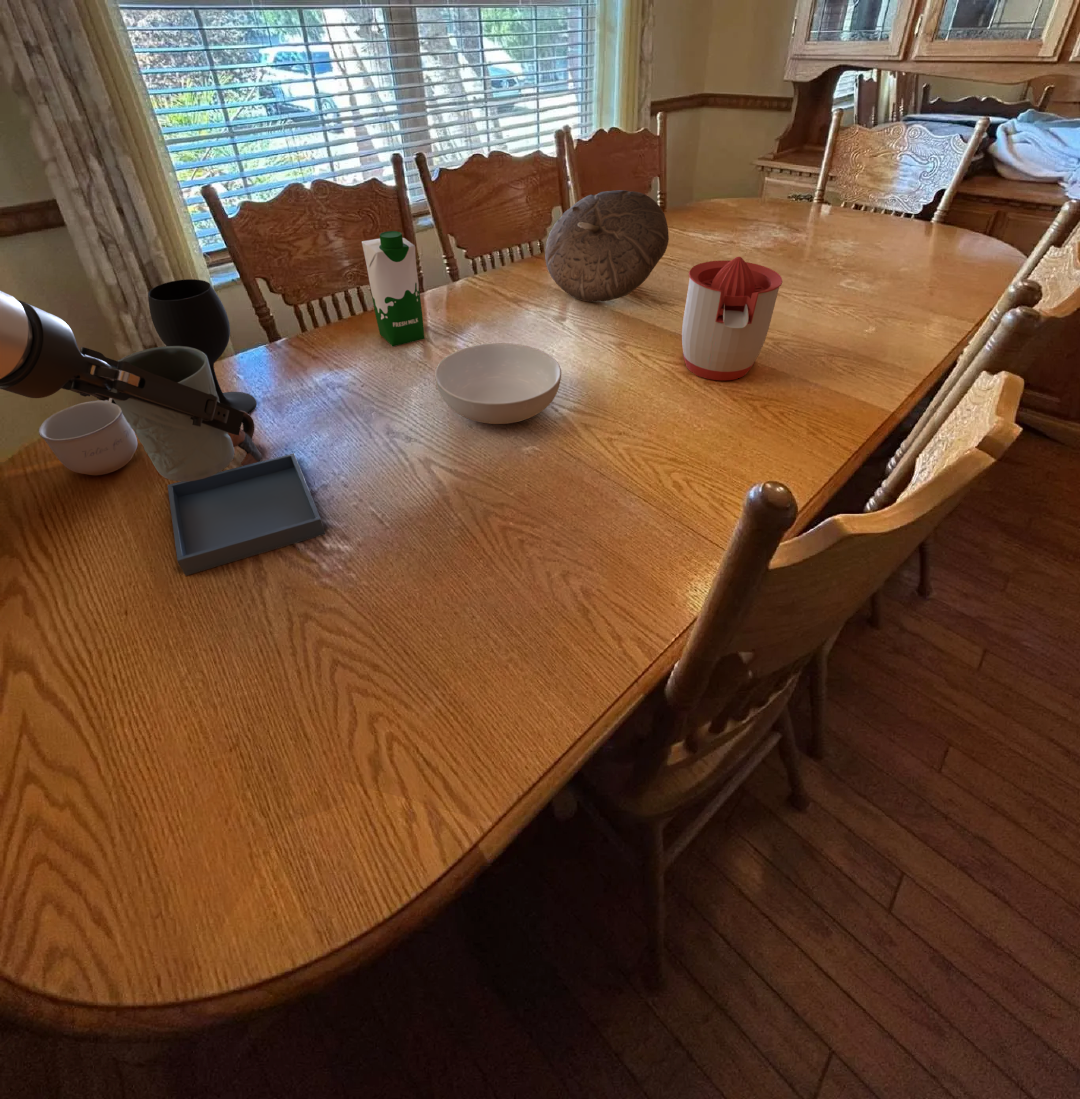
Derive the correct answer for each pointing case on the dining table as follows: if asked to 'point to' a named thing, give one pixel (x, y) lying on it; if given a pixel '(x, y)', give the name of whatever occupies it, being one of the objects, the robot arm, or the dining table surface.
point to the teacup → (90, 437)
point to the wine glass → (195, 326)
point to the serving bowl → (498, 382)
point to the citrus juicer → (727, 317)
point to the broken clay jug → (246, 441)
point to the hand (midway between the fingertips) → (201, 415)
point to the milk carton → (394, 288)
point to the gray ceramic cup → (177, 418)
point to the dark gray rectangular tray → (241, 513)
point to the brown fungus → (606, 245)
